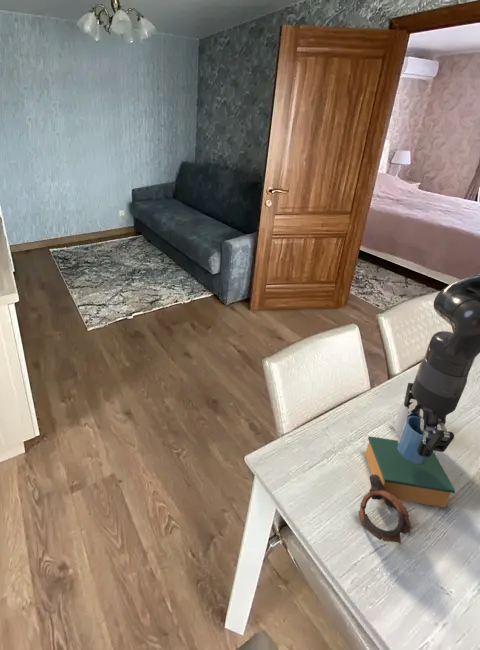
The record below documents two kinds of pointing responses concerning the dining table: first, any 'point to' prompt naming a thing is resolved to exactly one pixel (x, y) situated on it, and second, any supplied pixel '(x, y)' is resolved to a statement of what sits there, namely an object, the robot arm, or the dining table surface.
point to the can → (401, 417)
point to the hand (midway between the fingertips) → (416, 441)
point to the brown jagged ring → (379, 493)
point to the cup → (412, 440)
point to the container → (408, 474)
